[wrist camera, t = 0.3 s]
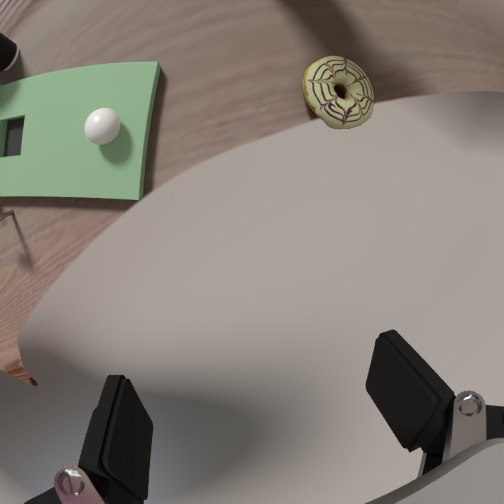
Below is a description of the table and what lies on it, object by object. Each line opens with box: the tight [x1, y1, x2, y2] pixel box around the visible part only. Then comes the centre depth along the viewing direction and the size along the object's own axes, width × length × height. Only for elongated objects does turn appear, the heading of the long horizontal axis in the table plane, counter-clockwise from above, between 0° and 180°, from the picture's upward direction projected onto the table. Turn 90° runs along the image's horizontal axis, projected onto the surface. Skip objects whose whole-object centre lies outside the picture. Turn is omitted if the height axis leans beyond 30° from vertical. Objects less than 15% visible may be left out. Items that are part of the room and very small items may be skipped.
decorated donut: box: [303, 56, 374, 129], centre depth 31 cm, size 10×11×4 cm
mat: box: [0, 62, 161, 200], centre depth 26 cm, size 18×30×5 cm, turn 82°
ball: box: [84, 108, 120, 145], centre depth 26 cm, size 4×4×4 cm
